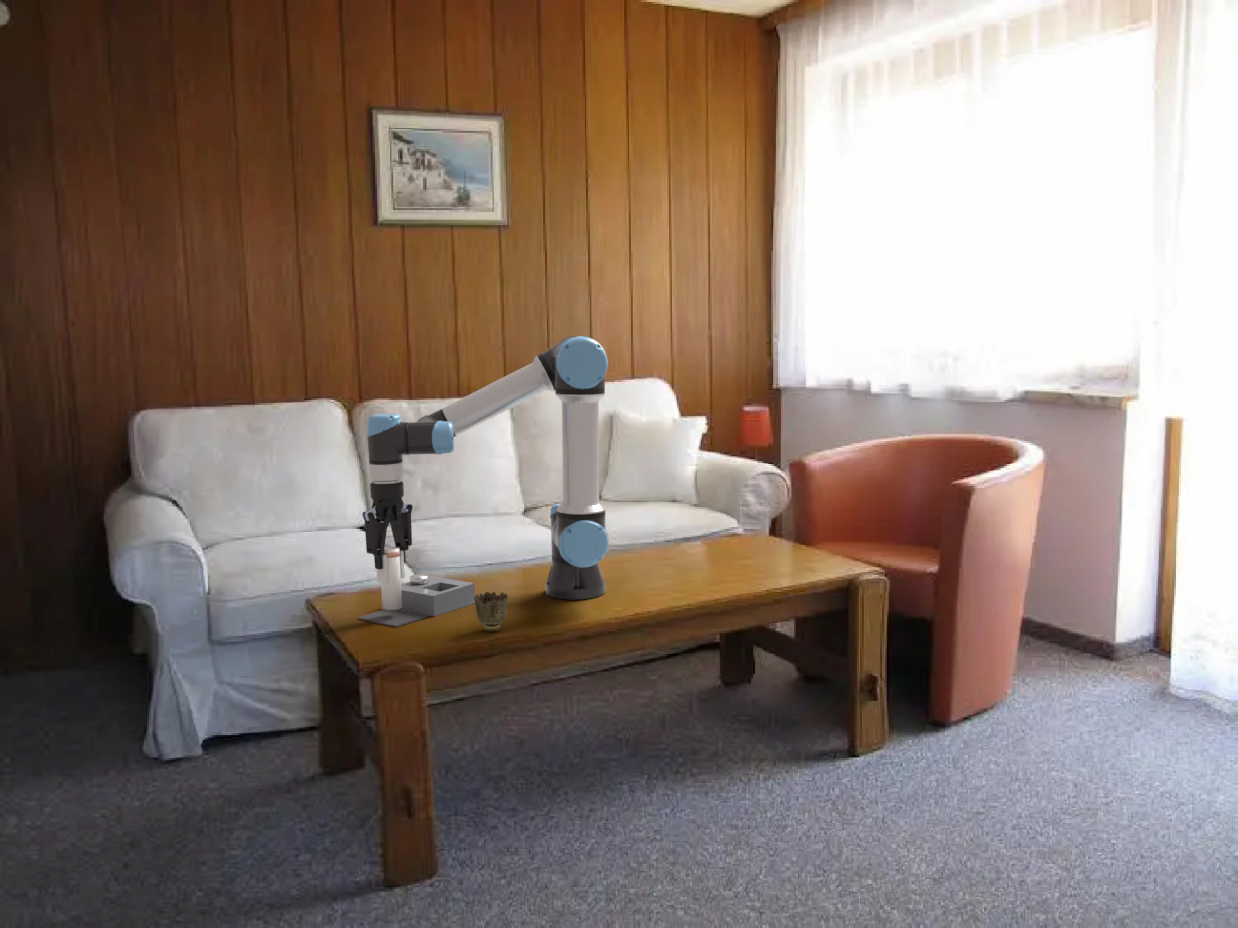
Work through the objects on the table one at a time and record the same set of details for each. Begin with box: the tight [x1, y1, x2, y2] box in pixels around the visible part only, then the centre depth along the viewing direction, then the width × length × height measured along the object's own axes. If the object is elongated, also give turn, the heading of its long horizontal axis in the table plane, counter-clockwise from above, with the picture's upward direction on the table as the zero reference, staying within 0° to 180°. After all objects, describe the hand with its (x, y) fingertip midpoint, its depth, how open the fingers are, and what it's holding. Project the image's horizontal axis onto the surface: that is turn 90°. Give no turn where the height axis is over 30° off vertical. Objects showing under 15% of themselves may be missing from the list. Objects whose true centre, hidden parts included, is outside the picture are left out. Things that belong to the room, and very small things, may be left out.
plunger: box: [409, 573, 429, 585], centre depth 260 cm, size 4×4×6 cm
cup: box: [474, 591, 508, 633], centre depth 236 cm, size 8×7×8 cm
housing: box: [399, 575, 476, 618], centre depth 258 cm, size 15×14×5 cm
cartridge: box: [380, 546, 402, 610], centre depth 246 cm, size 5×5×14 cm
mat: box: [357, 609, 429, 629], centre depth 248 cm, size 13×10×1 cm
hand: (391, 579), depth 246 cm, fingers closed on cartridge, 4 cm apart
